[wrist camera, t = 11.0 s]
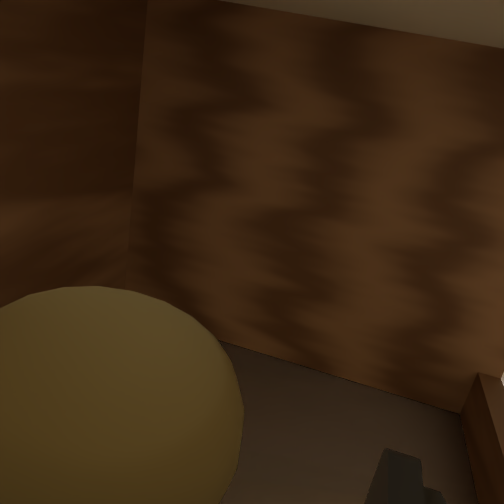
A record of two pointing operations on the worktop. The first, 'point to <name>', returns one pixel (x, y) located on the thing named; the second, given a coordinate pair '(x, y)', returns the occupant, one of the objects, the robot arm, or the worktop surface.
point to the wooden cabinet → (274, 181)
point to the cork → (113, 402)
